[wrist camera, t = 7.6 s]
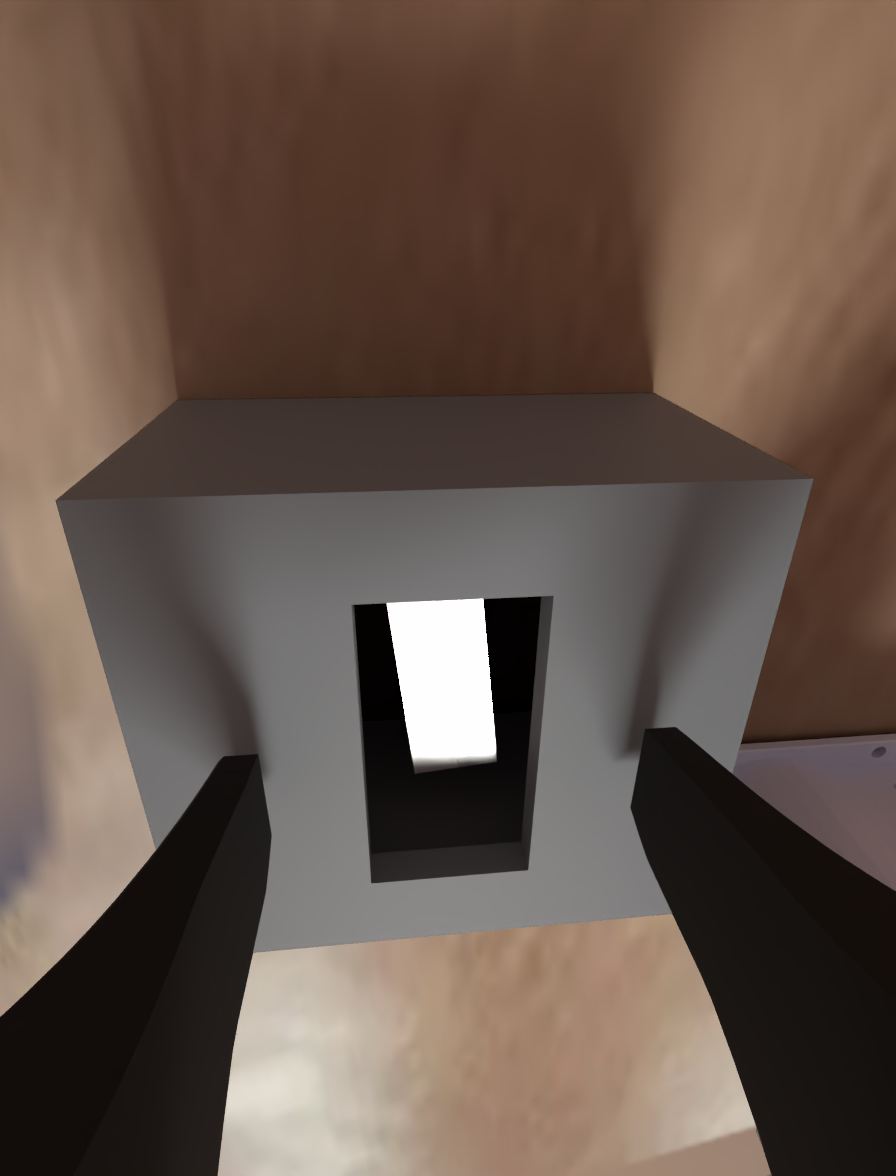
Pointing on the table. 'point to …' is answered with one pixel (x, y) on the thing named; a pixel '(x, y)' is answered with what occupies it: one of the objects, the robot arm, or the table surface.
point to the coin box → (416, 574)
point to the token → (444, 682)
